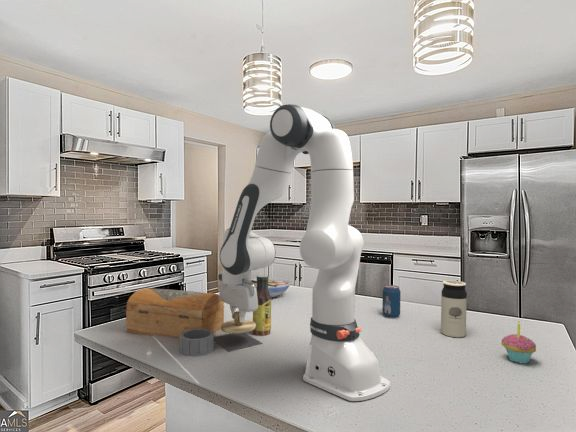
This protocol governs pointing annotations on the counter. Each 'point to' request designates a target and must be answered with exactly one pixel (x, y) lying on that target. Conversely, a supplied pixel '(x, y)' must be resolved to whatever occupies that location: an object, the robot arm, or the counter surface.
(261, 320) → the sauce bottle
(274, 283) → the ramen bowl
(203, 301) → the wooden box
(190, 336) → the bowl
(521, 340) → the cupcake
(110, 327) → the counter surface
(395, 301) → the soda can
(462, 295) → the travel mug
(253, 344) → the mat
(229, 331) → the lid
